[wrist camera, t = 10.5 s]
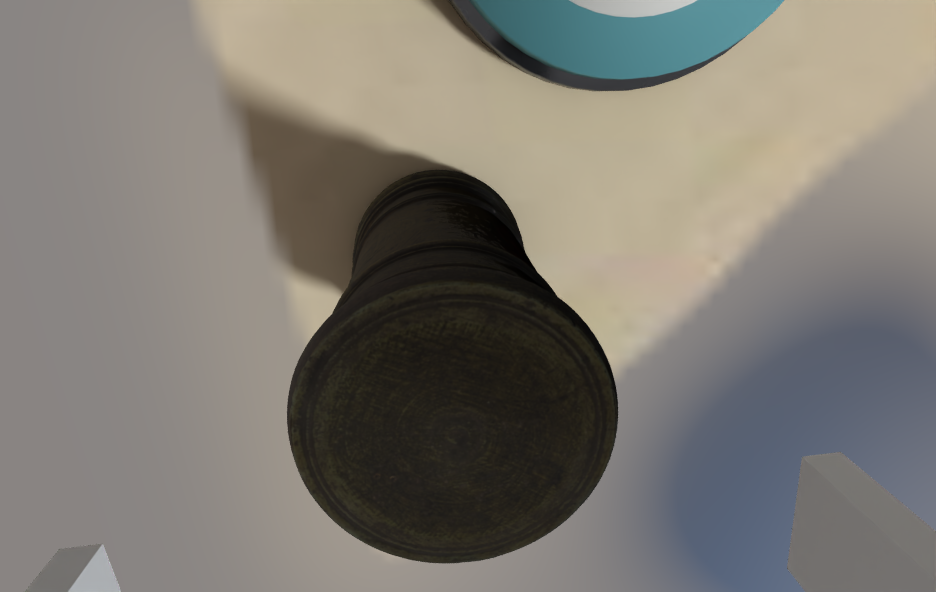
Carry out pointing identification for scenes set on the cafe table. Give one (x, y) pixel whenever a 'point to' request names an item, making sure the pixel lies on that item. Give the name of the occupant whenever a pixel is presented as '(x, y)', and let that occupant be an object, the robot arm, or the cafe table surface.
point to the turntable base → (551, 74)
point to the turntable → (623, 32)
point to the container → (449, 384)
